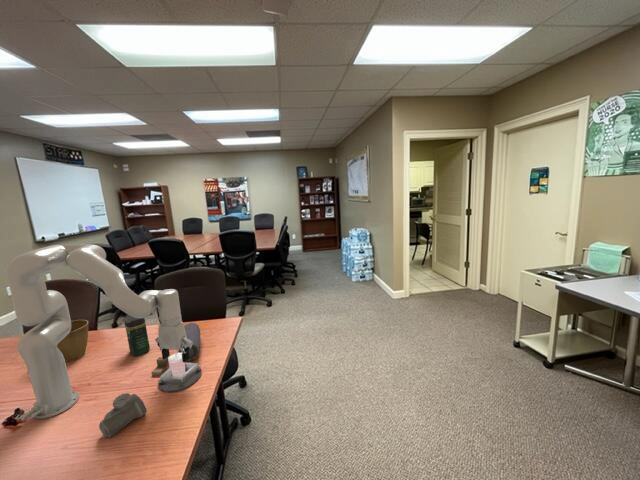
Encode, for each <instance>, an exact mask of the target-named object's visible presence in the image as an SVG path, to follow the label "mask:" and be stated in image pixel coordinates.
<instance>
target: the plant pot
mask: <svg viewBox="0 0 640 480" xmlns="http://www.w3.org/2000/svg"><path fill="white" fill-rule="evenodd" d="M88 338H89V320H86V319H77V320H76V319H75V320H71V331H70V333H69V334H68V335H67V336H66V337H65V338H64V339H63V340H62V341H60V342H59V343H58V344H57V348H58V349H59V350H60V351H61V352H62V354H63V356H64V359H65V362H72V361H76V360H78V359H80V358H82V357H83V356H84V355H85V354H86V351H87V347H88V340H89V339H88Z"/></svg>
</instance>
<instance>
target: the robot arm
mask: <svg viewBox="0 0 640 480" xmlns="http://www.w3.org/2000/svg"><path fill="white" fill-rule="evenodd" d="M62 267H69V268H70V270H73V271H74V272H75V273H77V274H79V275H80V276H82V278H84V279H86V280H88V281H90V282H91V283H93V284H95V286H97V287H98V288H100V289H102V290H103V292H104V293H105V295H106V297H107V298H108V299H109V301H110V302H111V304H113V305H114V306H115V307H116V308H118V309H119V310H120V311H122V312H123V313H125V314H126V315H127V316H132V317H135V318H147V317H148V316H150V315H151V314H152V313H153V312H154V310H156V308H157V310H158V315H159V318H158V319H159V324H158V336H157V337H156V338H155V340H154V341H155V343H156V344H157V347H159V350H160V352H161V357H162V358H163V360H165V359H166V358H167V357H168V358H169V357H170V356H171V353H170V350H172V351H175V350H176V351H178V350H181V351H182V352H183V353H182V361H183V363H185V362H188V361H187V360H188V359H189V350H190V349H191V347H192V344H193V342H192V341H191V340H189V339H187V336H186V331H185V327H184V326H185V325H184V322H183V319H182V313H181V312H182V311H181V305H180V296H179V291H178V290H177V289H175V288H169V289H167V288H166V289H163V290H155V289H154V290H153V289H150V290H143V291H142V292H140V294H137V293H136V292H134V291H133V290H132V289H131V288H130V287H128V285H127V283H126V281H125V274H124V272H123V271H122V269H120V268H119V267H117V266H115V265H114V264H112V262H109V261H108V260H107V252H106V251H105V249H104V248H103V247H102V246H100V245H97V244H92V243H91V244H89V243H86V244H85V243H84V244H80V243H77V244H76V243H75V244H68V243H67V244H52V245H49V246H44V247H40V248H37V249H33V250H29V251H27V252H25V253H22V254H20V255H17V256H15V258H12V260H10V262H9V263H8V264H7V266H6V268H5V278H6V283H7V284H8V286H9V290H10V295H11V299H12V304H13V308H14V313H15V318H16V319H17V321H18V323H19V324H20V325H22V326H24V327H32V328H31V329H29V330H28V331H27V332H25V333H24V334H23V335H22V336H21V337H20V339H19V340H18V343H17V351H18V353H19V354H20V357H21V358H22V359H23V362H24V363H25V366H26V369H27V373H28V376H29V379H30V382H31V386H32V390H33V394H34V397H35V400H36V401H35V402H34V403H33V404H32V408H30V409H29V410H28V411H26V412H24V413H23V414H21V415H20V416H19V418H20V420H21V421H23V422H24V421H25V420H27V419H29V418H30V419H34V418H35V419H38V420H40V419H42V420H43V419H47V418H51V417H55V416H57V415H59V414H62V413H64V412H65V411H67V410H69V409H70V408H72V407H73V406H74V405H75V404H76V403H77V402H78V401H79V399H80V394H79V392H78V391H76V390H75V391H74V390H73V388H72V384H71V380H70V375H69V372H68V368H67V364H66V361H65V359H64V356H63V354H62V352H61V351H60V350H59V349H58V348H57V344H58V343H59V342H60V341H62V340H63V339H64V338H65V337H66V336H67V335H68V334H69V333H70V331H71V321H72V319H71V315H70V309H69V305H68V301H67V299H66V296H65V295H63V294H62V293H61V292H59V291H57V290H53V289H48V290H47V284H46V281H45V280H44V279H43V277H41V276H42V275H44V274H46V273H49V272H52V271H55V270H56V269H60V268H62ZM183 347H185V348H186V349H184V348H183Z"/></svg>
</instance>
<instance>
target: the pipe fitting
mask: <svg viewBox="0 0 640 480" xmlns="http://www.w3.org/2000/svg"><path fill="white" fill-rule="evenodd" d="M112 406H113V408H112V409H111V410H109V411H108V412H107V413H106V414H104V417H103V419H102V420H101V421H99V425H98V427H99V430H100V432H101V434H102V435H103V437H105V438H111V437H113V436H114V435H115V434H116V433H117V434H118V432H119V431H121V430H122V429H123V428H124V427H126V426H127V425H128V424H129V423H130V422H132V421H133V420H134V419H138V418H141V417H143V416H144V415H146V413H147V411H148V410H147V407H146V404H145V403H144V401H143V400H142V399H141V397H140V396H139V395H138V394H135V393H132V394H130V393H129V392H128V393H122V394H120V395H118V396H117V397H115V398H114V400H113V401H112Z"/></svg>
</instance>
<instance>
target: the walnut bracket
mask: <svg viewBox="0 0 640 480" xmlns="http://www.w3.org/2000/svg"><path fill="white" fill-rule="evenodd" d="M168 358H169V357H167V358H166V359H165V360H163V358H162V356H161V357H158V358H157V359H156V364H157V365H156V367H155V368H154V369H153V370H152V371H150V372H151V376H152V377H160V376H161V375H162V374H163V373H165V372H166V371H167V370H168V369H169V368H170V363H169V361H168Z"/></svg>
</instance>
